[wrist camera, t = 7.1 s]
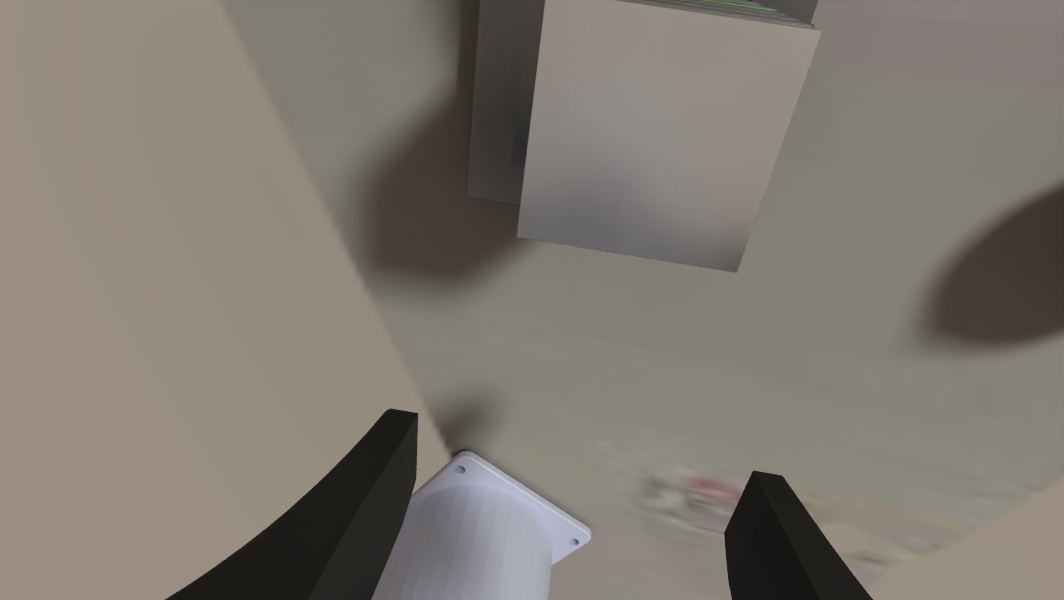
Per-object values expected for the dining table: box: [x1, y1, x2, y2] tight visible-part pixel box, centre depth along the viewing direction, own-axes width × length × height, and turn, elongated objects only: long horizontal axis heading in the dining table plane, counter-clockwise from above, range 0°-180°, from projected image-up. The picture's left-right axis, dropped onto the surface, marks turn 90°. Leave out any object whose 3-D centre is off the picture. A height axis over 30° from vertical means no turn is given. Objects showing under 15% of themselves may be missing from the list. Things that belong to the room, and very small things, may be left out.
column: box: [517, 0, 822, 273], centre depth 12 cm, size 4×4×6 cm
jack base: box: [466, 0, 818, 205], centre depth 14 cm, size 13×9×8 cm
